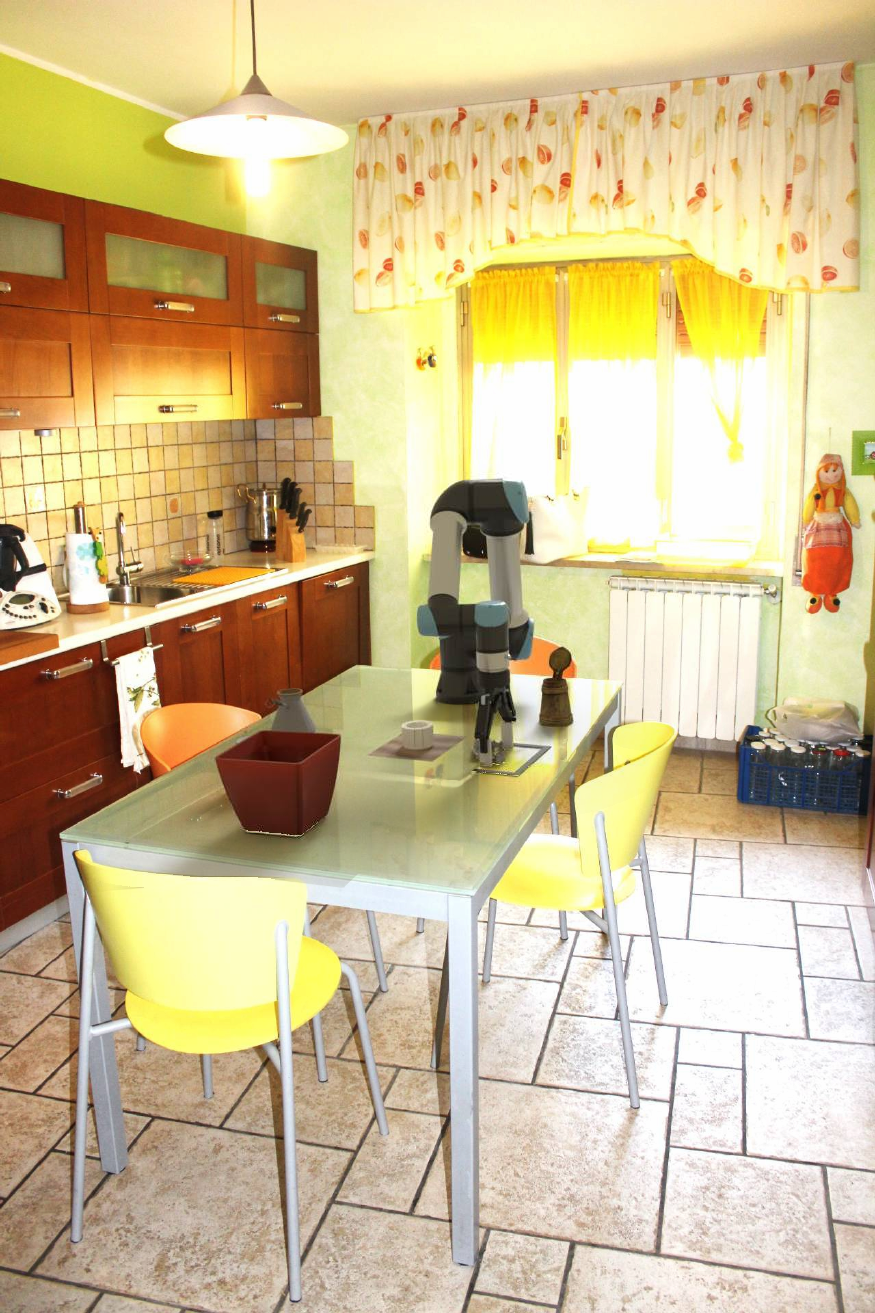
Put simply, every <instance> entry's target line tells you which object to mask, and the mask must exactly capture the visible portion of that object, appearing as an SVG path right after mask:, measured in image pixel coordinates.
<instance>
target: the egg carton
mask: <svg viewBox="0 0 875 1313" xmlns="http://www.w3.org/2000/svg"><path fill="white" fill-rule="evenodd" d="M496 747H498V750H497V751H496V752H495V750H496ZM505 748H506V746H505V745H504V744H503V742H502V741H501V740H500V741H499V742H497V741H496V739H493V740H491V749H492V753H493V754H492V763H495V764H494V765H496V764H501V763H503V762H505V763H506V757H507V756H506V751H505V750H506V749H505ZM472 751H473V754H475V759H476V760H479V761H480V753H479V739H475V738H474V742H473V749H472ZM503 764H504V763H503ZM501 765H502V764H501Z"/></svg>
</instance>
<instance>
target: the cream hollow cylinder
mask: <svg viewBox="0 0 875 1313" xmlns="http://www.w3.org/2000/svg"><path fill="white" fill-rule="evenodd" d="M401 734H402V743H403V748H405V749H407V750H425V749H429V748H431V747H433V746H434V736H433V734H434V724H433V722H431V721H429V720H410V721H407V722H403V723H402V724H401Z"/></svg>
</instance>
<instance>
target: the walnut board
mask: <svg viewBox="0 0 875 1313" xmlns="http://www.w3.org/2000/svg"><path fill="white" fill-rule="evenodd" d="M433 736H434V746H433V747H431V748H429V749H425V750H407V749H405V748H403V743H402V733H400V734H399V735H397V736H396V737H394V738H392V739H391V740H389V741H388V742H386V743H384V744H382V745H381V746H379V747H378V748H376V749H375V750H373V751H372V752H370V753H368V754H367V756H371V757H372V756H373V757H383V758H384V757H385V758H393V759H401V760H402V759H403V760H412V761H423V762H434V761H435V760H437V759H438V758H440V757H441V756H442V755H443V754H445V753H446V752H448V751H449V750H450V749H452V748H453V747H455V746H456V745H457V744H459V743H460V742H462V741H464V740H465V739H466V738H467V736H464V735H453V734H452V735H451V734H439V733H433Z"/></svg>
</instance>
